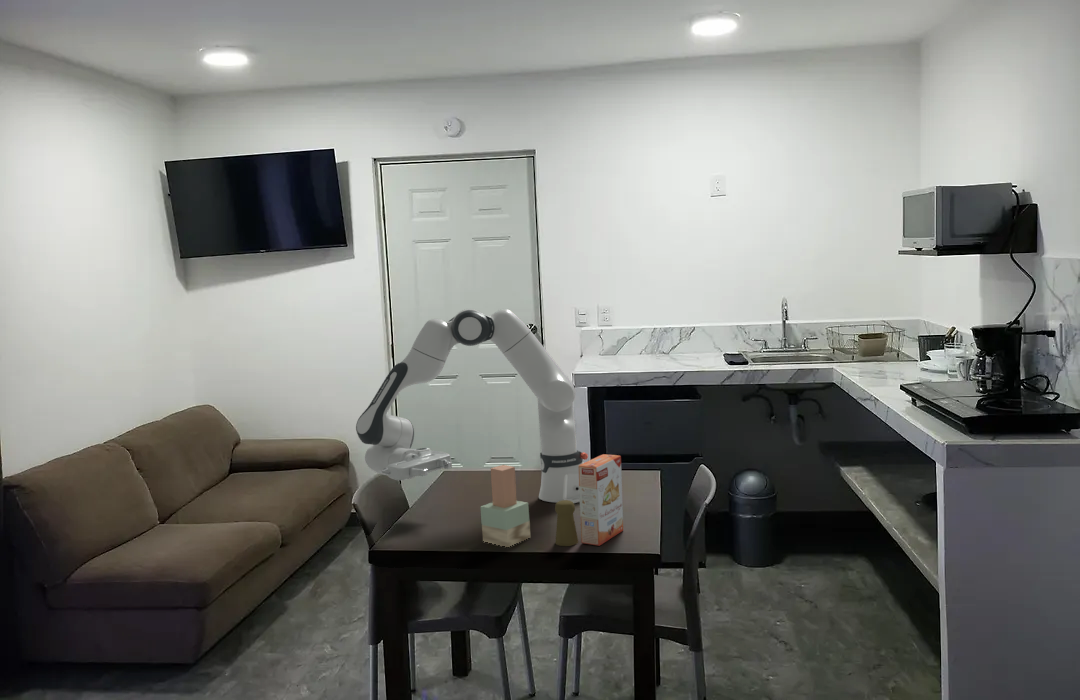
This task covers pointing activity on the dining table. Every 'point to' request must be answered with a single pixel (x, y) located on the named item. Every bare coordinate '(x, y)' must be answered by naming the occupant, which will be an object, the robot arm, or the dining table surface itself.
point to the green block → (504, 515)
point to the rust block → (503, 486)
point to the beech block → (506, 534)
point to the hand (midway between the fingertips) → (437, 469)
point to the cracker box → (600, 499)
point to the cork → (565, 524)
